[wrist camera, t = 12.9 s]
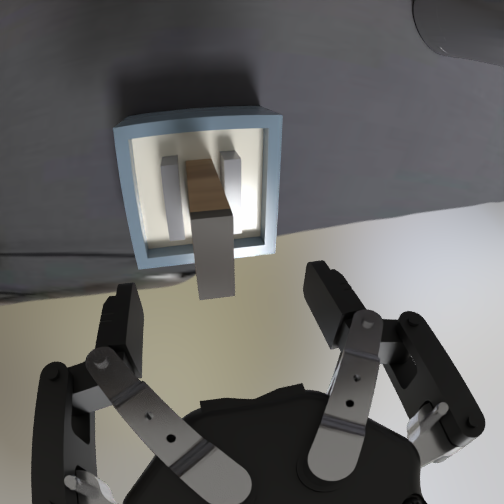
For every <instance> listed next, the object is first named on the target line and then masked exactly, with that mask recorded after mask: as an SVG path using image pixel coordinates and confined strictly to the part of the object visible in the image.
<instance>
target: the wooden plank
mask: <svg viewBox="0 0 504 504" xmlns="http://www.w3.org/2000/svg"><path fill="white" fill-rule="evenodd" d="M186 174H187V188H188V200H189V212H190V223H191V232H192V242H193V251H194V260H195V268H196V276H197V283H198V291H199V299H200V300H204V299H213V298H221V297H229V296H235V278H234V223H233V213H232V211H231V208H230V205H229V203H228V200H227V198H226V195H225V192H224V190H223V187H222V185H221V182H220V179H219V177H218V174H217V171H216V169H215V166H214V164H213V161H212V159H200V160H188V161H186Z"/></svg>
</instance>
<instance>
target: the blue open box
mask: <svg viewBox="0 0 504 504" xmlns="http://www.w3.org/2000/svg"><path fill="white" fill-rule="evenodd" d="M282 116H283V115H281V114H279V113H276V112H274V111H272V110H269V109H267V108H264V107H262V106H227V107H207V108H193V109H181V110H171V111H162V112H154V113H146V114H139V115H132V116H128V117H127V118H125V119H124V120H123V121H121V122H120V123H119V124H118V125H116V126H115V127H114V128H113V131H114V140H115V148H116V155H117V162H118V169H119V176H120V182H121V188H122V194H123V199H124V205H125V210H126V215H127V220H128V225H129V230H130V235H131V239H132V244H133V248H134V253H135V257H136V261H137V265H138V269H147V268H155V267H164V266H173V265H181V264H190V263H195V260H194V251H193V242H192V232H191V223H190V212H189V200H188V188H187V174H186V161H188V160H200V159H212V161H213V164H214V166H215V169H216V171H217V174H218V177H219V179H220V182H221V185H222V187H223V190H224V192H225V195H226V198H227V200H228V203H229V205H230V208H231V211H232V213H233V223H234V258H241V257H249V256H257V255H266V254H273V253H275V248H276V233H277V216H278V199H279V181H280V161H281V140H282Z"/></svg>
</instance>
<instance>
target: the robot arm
mask: <svg viewBox="0 0 504 504" xmlns="http://www.w3.org/2000/svg"><path fill="white" fill-rule="evenodd" d="M413 9H414V19H415V23H416V26H417V29H418V31H419V33H420V35H421V37H422V39H423V40H424V42H425V43H426V44H427V45H428V47H429V48H431V49H432V50H433V51H434V52H436V53H437V54H439V55H443V56H448V57H453V58H462V59H468V60H473V61H479V62H484V63H489V64H493V65H498V66H502V67H504V0H415V1H414V6H413ZM303 292H304V297H305V300H306V302H307V304H308V306H309V307H310V310H311V312H312V314H313V316H314V317H315V319H316V321H317V323H318V325H319V327H320V329H321V331H322V333H323V335H324V337H325V339H326V341H327V343H328V345H329V347H330V349H335V348H339V349H340V351H341V353H340V355H339V358H338V361H337V365H336V368H335V371H334V374H333V377H332V380H331V383H330V385H329V388H328V391H327V393H326V394H325V393H322V392H319V391H314V390H305V389H304V386H303V384H302V383H301V384H297V385H292V386H288V387H283V388H279V389H276V390H274V391H272V392H270V393H267V394H265V395H263V396H261V397H258V398H256V399H236V398H221V399H213V400H206V401H200V405H201V408H199V409H197V410H194V411H192V412H191V413H189V414H188V415H186V416H185V417H183V418H182V419H181V418H180V417H179V416H178V415H177V414H176V413H175V412H174V411H173V410H172V409H171V408H170V407H169V406H168V405H167V404H166V403H165V402H164V401H163V400H162V399H161V398H160V397H159V396H158V395H157V394H156V393H155V392H154V391H153V390H152V389H151V388H150V387H149V386H148V385H147V384H146V383H145V382H144V381H142V382H141V381H140V380H139V379H138V378H142V348H143V326H144V314H143V309H142V305H141V301H140V298H139V295H138V291H137V288H136V285H135V283H125V284H119V285H118V288H117V293H116V296H109V297H108V299H107V300H106V302H105V303H104V305H103V309H102V315H101V319H100V324H99V330H98V335H97V340H96V346H95V349H94V350H92V351H91V352H90V353H89V354H88V355H87V357H86V360H85V362H83V363H80V364H78V365H74V366H72V367H68V368H67V367H66V365H65V364H63V363H61V362H52V363H50V364H48V365H46V366H45V367H44V369H43V370H42V372H41V375H40V380H39V386H38V393H37V400H36V408H35V416H34V427H33V439H32V440H33V441H32V461H31V487H32V504H118V503H117V502H116V501H115V499H114V497H113V495H112V492H111V489H110V487H109V486H108V484H106V483H105V482H104V481H103V480H101V479H99V478H98V477H97V467H96V449H95V411H96V410H99V409H102V408H105V407H108V406H110V405H113V406H114V408H115V409H116V410H117V411H118V413H119V414H120V415H121V416H122V418H123V419H124V420H125V421H126V422H127V423H128V425H129V426H130V427H131V428H132V429H133V431H134V432H135V433H136V434H137V435H138V436H139V437H140V439H141V440H142V441H143V442H144V443H145V444H146V445H147V446H148V447H149V448H150V450H152V452H153V453H154V454H155V456H154V458H153V459H152V461H151V462H150V463H149V465H148V466H147V468H146V469H145V470H144V472H143V473H142V475H141V476H140V477H139V479H138V480H137V482H136V483H135V484H134V486H133V487H132V489H131V490H130V491H129V493H128V494H127V496H126V497H125V499H124V501H123V504H427V503H426V501H425V500H424V498H423V496H422V493H421V488H420V469H421V468H422V467H424V466H426V465H428V464H430V463H432V462H433V463H439V462H442V461H444V460H446V459H447V458H448V457H450V456H452V455H453V454H455V453H456V452H457V451H459V450H460V449H462V448H463V447H465V446H466V445H467V444H469V443H470V442H471V441H473V440H474V439H476V438H477V437H478V436H479V435H480V434H482V432H483V431H484V428H485V418H484V416H483V414H482V412H481V410H480V408H479V406H478V404H477V403H476V401H475V399H474V397H473V396H472V394H471V392H470V390H469V389H468V387H467V385H466V383H465V382H464V380H463V378H462V377H461V375H460V373H459V372H458V370H457V368H456V367H455V366H454V364H453V362H452V360H451V359H450V357H449V356H448V354H447V353H446V351H445V350H444V348H443V346H442V345H441V343H440V342H439V340H438V339H437V338H436V336H435V334H434V333H433V331H432V330H431V328H430V327H429V325H428V324H427V322H426V321H425V320H424V318H423V317H422V316H420V315H419V314H417V313H415V312H412V311H407V312H403V313H402V314H401V315H400V317H399V319H398V320H389V319H388V320H387V319H382V318H381V316H380V315H379V314H378V313H376V312H374V311H372V310H367V309H366V308H365V307H364V305H363V304H362V302H361V301H360V299H359V298H358V296H357V295H356V294H355V292H354V291H353V290H352V288H351V286H350V285H349V284H348V282H347V281H346V279H345V278H344V276H343V275H342V274H340V273H339V272H338V271H336V270H335V269H332V270H330V269H329V267H328V266H327V264H326V263H325V261H323V260H321V261H314V262H308V263H307V266H306V273H305V279H304V286H303ZM410 355H411V356H410ZM414 362H415V363H414ZM380 364H383V366H384V368H385V370H386V372H387V374H388V376H389V378H390V380H391V382H392V384H393V386H394V388H395V390H396V392H397V394H398V396H399V398H400V400H401V402H402V405H403V407H404V409H405V411H406V413H407V415H408V417H409V419H410V420H409V422H408V424H407V433H408V434H407V438H408V439H407V438H405V437H403V436H401V435H400V434H398V433H395V432H394V431H392V430H390V429H388V428H386V427H384V426H383V425H381V424H379V423H377V422H375V421H373V420H372V419H370V418H368V415H369V410H370V407H371V402H372V398H373V394H374V389H375V385H376V380H377V375H378V370H379V365H380Z"/></svg>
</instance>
